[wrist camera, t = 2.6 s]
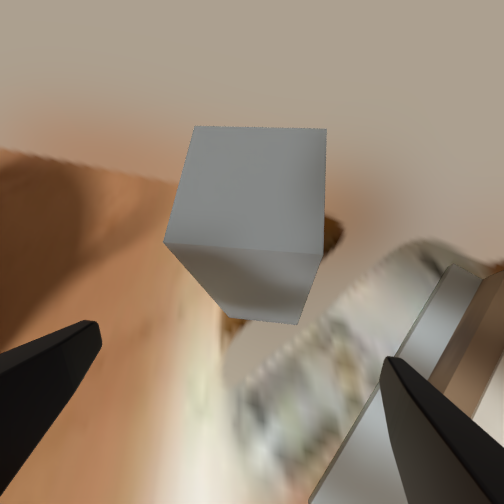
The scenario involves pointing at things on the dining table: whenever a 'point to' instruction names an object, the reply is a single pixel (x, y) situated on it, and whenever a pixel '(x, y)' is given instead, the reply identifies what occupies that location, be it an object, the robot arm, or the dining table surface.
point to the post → (252, 218)
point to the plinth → (370, 429)
